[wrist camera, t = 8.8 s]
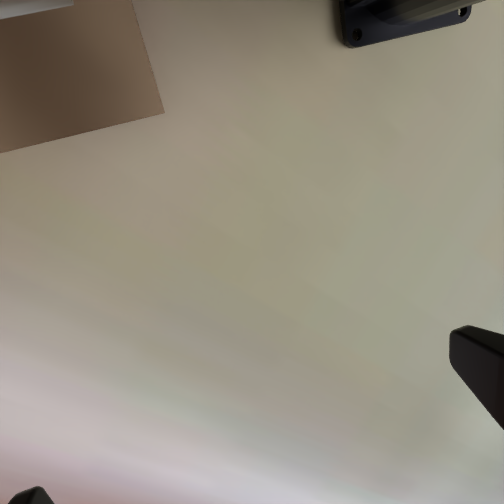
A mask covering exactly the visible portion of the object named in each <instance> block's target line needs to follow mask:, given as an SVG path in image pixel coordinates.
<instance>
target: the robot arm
mask: <svg viewBox="0 0 504 504" xmlns="http://www.w3.org/2000/svg"><path fill="white" fill-rule="evenodd" d="M482 1H485V0H339V5H340V15H341V25H342V35H343V41H344V44H345V45H346V46H347V47H348V48H358V47H362V46H366V45H370V44H375V43H379V42H383V41H387V40H392V39H396V38H400V37H404V36H409V35H413V34H417V33H421V32H425V31H430V30H434V29H438V28H442V27H447V26H451V25H455V24H459V23H462V22H464V21H466V20H467V19H468V18H469V16H470V13H471V7H472V5H473V4H476V3H479V2H482ZM458 9H460V11H461V12H460V15H458ZM353 30H355V31H356V32H357V34H358V38H357V40H356V41H355V40H353V38H352V32H353ZM449 359H450V363H451V365H452V367H453V368H454V370H455V371H456V372H457V374H458V375H459V376H460V377H461V379H462V380H463V381H464V382H465V383H466V385H467V386H468V387H469V388H470V390H471V391H472V392H473V393H474V395H475V396H476V397H477V398H478V400H479V401H480V402H481V403H482V405H483V406H484V407H485V408H486V409H487V411H488V412H489V413H490V414H491V416H492V417H493V418H494V419H495V420H496V422H497V423H498V424H499V425H500V426H501V427H502V429H503V430H504V335H503V334H499V333H496V332H492V331H489V330H485V329H481V328H478V327H474V326H470V325H466V326H463V327H460V328H457V329H455V330H453V331H451V333H450V340H449ZM8 504H54V502H53V501H52V500H51V498H50V497H49V495H48V494H47V493H46V491H45V490H44V489H43V488H42V487H40V486H35V487H33V488H30V489H27V490H25V491H22V492H20V493H18V494H16V495H15V496H14V497H13V498H12V499H11V500H10V502H9V503H8Z"/></svg>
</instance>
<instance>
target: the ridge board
mask: <svg viewBox="0 0 504 504" xmlns="http://www.w3.org/2000/svg"><path fill="white" fill-rule="evenodd" d="M163 113H165V112H164V108H163V105H162V102H161V98H160V95H159V92H158V88H157V85H156V82H155V78H154V75H153V72H152V68H151V65H150V62H149V58H148V55H147V52H146V48H145V45H144V42H143V38H142V35H141V32H140V28H139V25H138V22H137V19H136V15H135V12H134V9H133V5H132V2H131V0H0V153H3V152H7V151H11V150H16V149H20V148H24V147H28V146H32V145H36V144H40V143H44V142H48V141H52V140H56V139H60V138H65V137H69V136H73V135H77V134H81V133H85V132H89V131H93V130H97V129H101V128H105V127H110V126H114V125H118V124H122V123H126V122H130V121H134V120H138V119H142V118H146V117H150V116H155V115H159V114H163Z"/></svg>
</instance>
